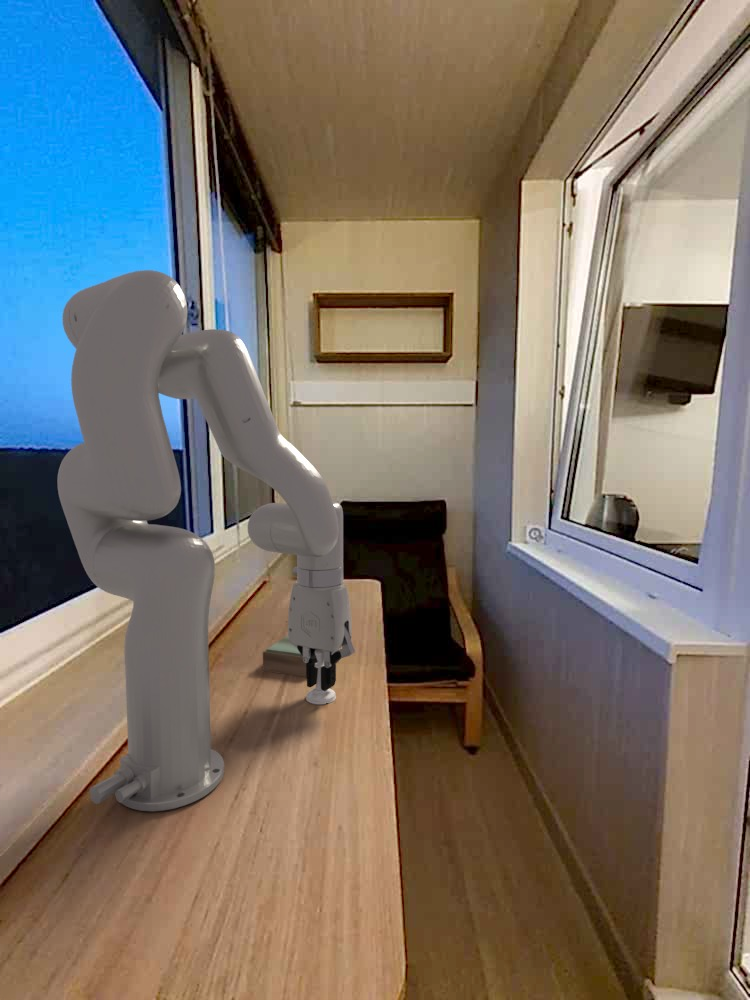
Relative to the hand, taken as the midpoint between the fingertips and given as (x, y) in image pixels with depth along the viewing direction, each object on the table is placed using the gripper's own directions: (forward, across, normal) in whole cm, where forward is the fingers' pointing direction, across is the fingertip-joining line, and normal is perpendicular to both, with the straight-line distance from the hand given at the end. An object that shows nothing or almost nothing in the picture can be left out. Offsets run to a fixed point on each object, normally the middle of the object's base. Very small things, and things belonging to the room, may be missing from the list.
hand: (321, 685), depth 90 cm
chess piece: (+2, 0, 0) cm, 2 cm away
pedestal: (+2, -12, +10) cm, 16 cm away
